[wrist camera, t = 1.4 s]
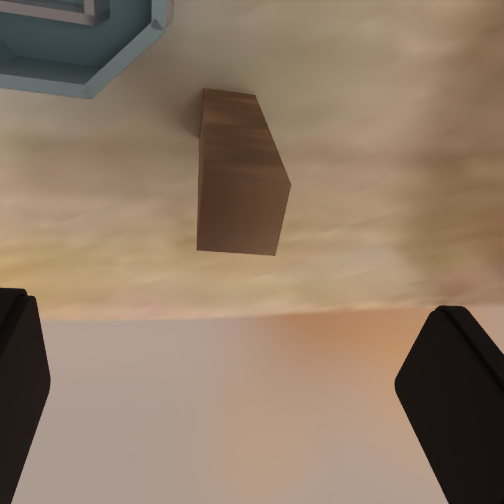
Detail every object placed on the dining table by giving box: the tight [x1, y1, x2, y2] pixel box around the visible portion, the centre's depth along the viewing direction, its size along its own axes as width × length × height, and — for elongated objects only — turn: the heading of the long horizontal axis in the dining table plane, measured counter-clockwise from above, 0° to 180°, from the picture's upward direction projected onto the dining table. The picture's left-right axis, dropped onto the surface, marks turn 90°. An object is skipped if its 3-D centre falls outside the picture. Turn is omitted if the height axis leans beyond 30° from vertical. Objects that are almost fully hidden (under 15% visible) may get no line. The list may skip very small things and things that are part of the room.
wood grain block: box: [197, 89, 291, 256], centre depth 20 cm, size 3×3×12 cm
